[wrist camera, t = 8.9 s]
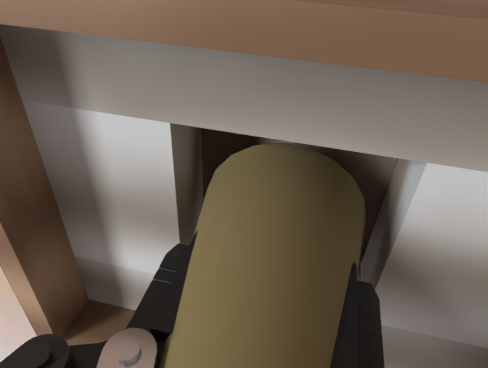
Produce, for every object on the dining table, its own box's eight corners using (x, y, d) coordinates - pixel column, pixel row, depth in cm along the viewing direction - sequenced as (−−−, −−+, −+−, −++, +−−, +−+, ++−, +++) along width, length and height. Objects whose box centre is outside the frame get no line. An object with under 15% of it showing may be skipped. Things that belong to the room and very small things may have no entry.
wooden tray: (18, -59, 12) (-163, -44, 8) (728, -3, 9) (1064, 74, 5) (105, 264, 22) (44, 350, 18) (465, 344, 19) (500, 473, 14)
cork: (404, 208, 13) (517, 832, 4) (299, 286, 16) (242, 704, 8) (260, 108, 12) (14, 652, 3) (182, 215, 15) (-31, 602, 7)
